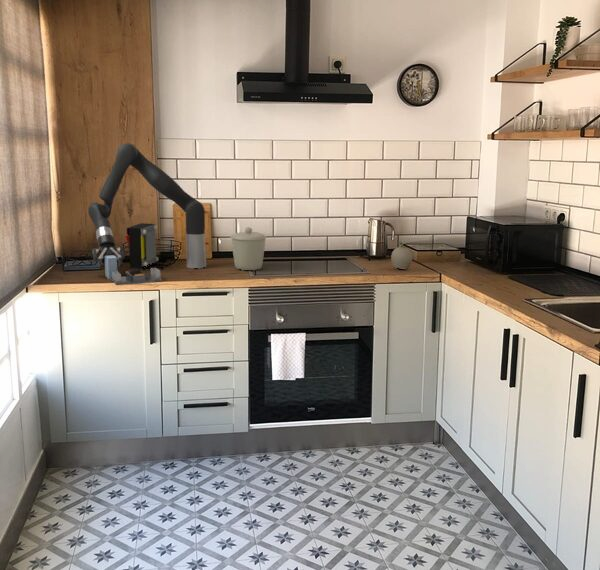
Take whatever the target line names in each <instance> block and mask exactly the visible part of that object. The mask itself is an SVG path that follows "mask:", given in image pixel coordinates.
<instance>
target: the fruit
mask: <svg viewBox="0 0 600 570" xmlns="http://www.w3.org/2000/svg"><path fill="white" fill-rule="evenodd" d="M397 243H398V244H397V246H396V247H395V248H394V249H393V251H392V252H391V256H390V257H391V258H390V261H391V264H392V265H393V267H394V268H395V267H396V268H395V269H397V268H407V269H408V268H409V267H410V266H411V264H412V261H413V255H412V252H411V250H410V249H409V248H407V247H404V243H403V242H401V241H398V242H397ZM400 245H401V246H400Z"/></svg>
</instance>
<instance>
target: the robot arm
mask: <svg viewBox="0 0 600 570" xmlns="http://www.w3.org/2000/svg"><path fill="white" fill-rule="evenodd" d="M115 156H116V157H115V159H114V160H115V161H114V163H113V166H112V168H111V170H110V173H109V175H108V176H107V178H106V179H105V182H104V183H103V186H102V188H101V190H100V192H99V194H98V197H99V198H100V200H102V201H103V204H101V203H98V202H92V203H90V204H89V206H88V209H87V210H88V211H87V212H88V216H89V217H90V220H91V221H92V223H93V225H94V228H95V234H96V235H95V237H96V240H97V244H98V248H96V247H93V248H92V258H93V262H97V263H98V266H99V268H100V269H103V268H104V264H103V259H104V258H105V256H108V255H114V256H115V257H116V258H117V264H118V267H119V268H121V267H122V266H123V260H125V257H126V254H125V250H124V248H123V246H122V245H121V246H119V247H117V246H116V243H115V240H114V235H113V231H112V228H111V223H110V221H109V218H110V216H111V214H112V208H113V202H114V199H115V197H116V195H117V193H118V190H119V189H120V186H121V183H122V181H123V178H124V176H125V174H126V172H127V171H128V169H129V167H133V168H134V169H135V170H136V171H138V173H140V174H141V176H142V177H143V178H144V179H145V181H146V182H148V183H147V184H149V185H151V187H152V188H153V189H155V190H156V191H157V192H159V193H160V194H161V195H163V197H166V198H167V199H169V200H170V201H172V202H174V203H175V204H176V205H177V206H178V207H179V208H181V210H182V211H183V212H184V213H185V241H186V242H185V243H186V268H188V269H194V268H198V269H204V268H203V267H205V268H207V248H206V239H205V237H206V236H205V235H206V234H205V233H206V232H205V231H206V229H205V228H206V217H205V216H206V213H205V212H206V211H205V207H204V205H203V203H202V202H200V201H199V200H197V199H196V198H194V197H193V196H191V195H190V194H188V193H187V192H186V191H185V190H184V189H183V188H182V187H181V186H180V185H179V183H177V182H176V181H175V180H174V179H173V177H171V176H170V175H169V174H168V173H166V172H165V171H164V170H163V169H162V168H160V167H158V166H157V165H156V164H154V162H152V161H150V160H149V159H147V157H145V156H144V154H143V153H142V152H141V151H140V150H139V149H138V148H137V147H136V145H134V144H132V143H130V142H125V143H123V144H121V145H119V147H118V148H117V151H116V155H115ZM98 253H99V256H97V254H98ZM194 270H195V269H194Z"/></svg>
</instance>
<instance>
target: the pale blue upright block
mask: <svg viewBox="0 0 600 570" xmlns="http://www.w3.org/2000/svg"><path fill="white" fill-rule="evenodd" d="M112 271H118V259H117V258H116V257H115V256H114V255H108V256H105V257H104V274H105V278H107V280H109V279H110V280H111V278H112Z"/></svg>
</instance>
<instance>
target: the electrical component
mask: <svg viewBox="0 0 600 570" xmlns="http://www.w3.org/2000/svg"><path fill="white" fill-rule="evenodd" d="M157 231H158V225H156V224H155V223H144V222H141V223H138V224H134V225H132V226H128V227H126V235H125V238H126V242H127V244H128V245H129V266H130V267H129V268H130V269H140V268H139V267H142V266H146V267H148V266H149V265H148V264H150V265H152V263H153V264H154V263H155V264H156V263H157V262H159V256H157V244H156V243H157V241H156V239H157V238H156V236H157V235H156V232H157ZM147 265H148V266H147Z"/></svg>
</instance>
